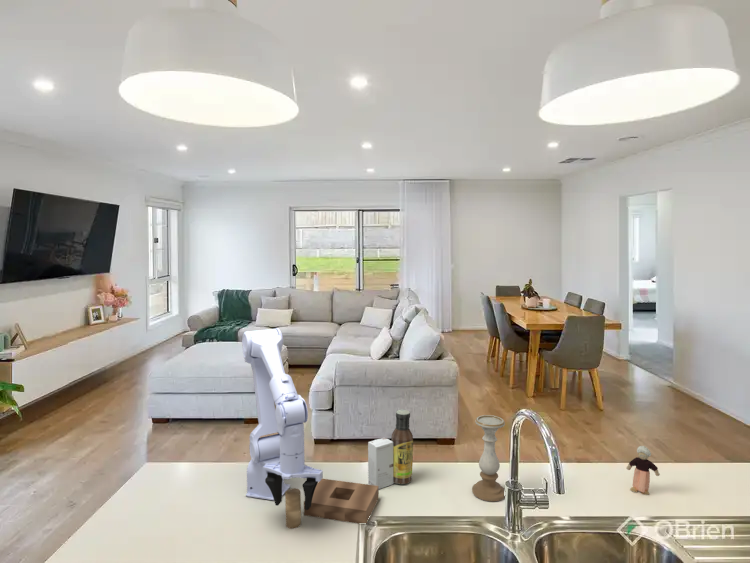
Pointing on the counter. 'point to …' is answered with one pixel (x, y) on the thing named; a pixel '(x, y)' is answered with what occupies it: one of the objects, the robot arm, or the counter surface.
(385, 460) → the skincare box
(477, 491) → the candle holder
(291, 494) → the oak peg
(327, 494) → the walnut board
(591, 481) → the counter surface
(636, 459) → the grandmother figurine
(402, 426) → the sauce bottle
